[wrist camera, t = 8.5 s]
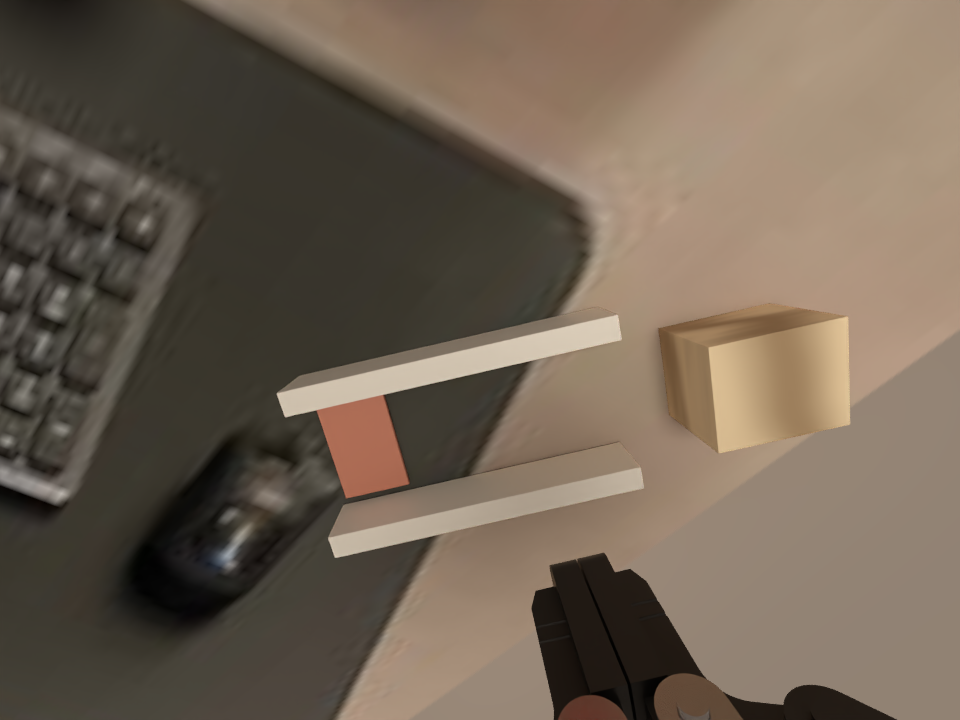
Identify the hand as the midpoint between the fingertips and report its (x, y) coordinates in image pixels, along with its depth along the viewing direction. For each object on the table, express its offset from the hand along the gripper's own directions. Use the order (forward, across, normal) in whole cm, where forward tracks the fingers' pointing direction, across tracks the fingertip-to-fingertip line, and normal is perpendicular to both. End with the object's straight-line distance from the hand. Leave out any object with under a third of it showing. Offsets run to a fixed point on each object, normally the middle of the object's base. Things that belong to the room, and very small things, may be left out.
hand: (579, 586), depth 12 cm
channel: (+13, +2, 0) cm, 13 cm away
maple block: (+13, -12, -1) cm, 17 cm away
